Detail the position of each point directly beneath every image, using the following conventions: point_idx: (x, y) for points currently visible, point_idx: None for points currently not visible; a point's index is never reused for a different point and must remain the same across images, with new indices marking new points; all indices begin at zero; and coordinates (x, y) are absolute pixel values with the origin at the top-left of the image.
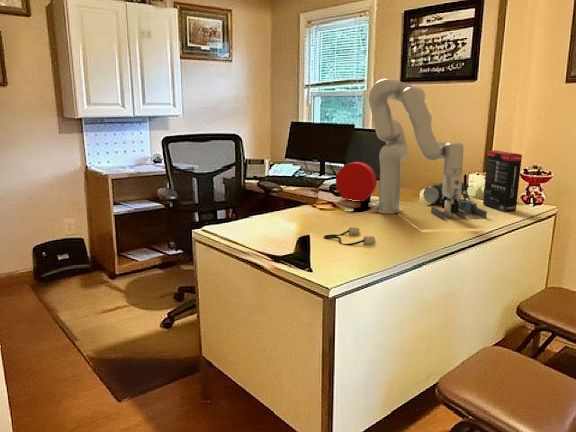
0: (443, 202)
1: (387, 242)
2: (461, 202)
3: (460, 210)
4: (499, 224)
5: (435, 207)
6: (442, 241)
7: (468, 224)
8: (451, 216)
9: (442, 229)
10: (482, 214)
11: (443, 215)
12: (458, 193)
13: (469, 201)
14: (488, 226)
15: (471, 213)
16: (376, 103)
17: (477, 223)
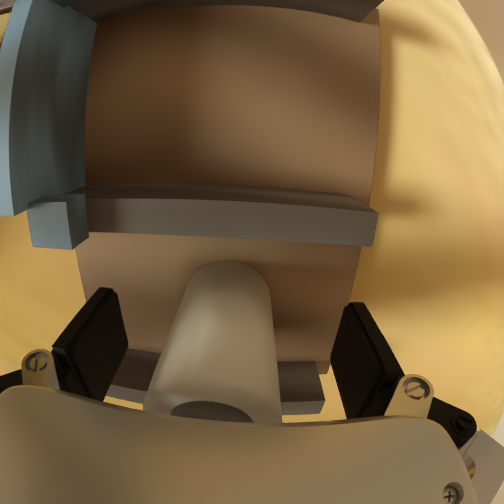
0: (106, 381)
1: None
2: (17, 115)
3: (294, 239)
4: (454, 22)
5: (134, 392)
6: (495, 396)
7: (433, 226)
8: (269, 295)
9: (434, 387)
10: (342, 4)
11: (318, 385)
12: (485, 499)
13: (27, 15)
14: (490, 127)
15: (143, 29)
16: None
17: (428, 139)
